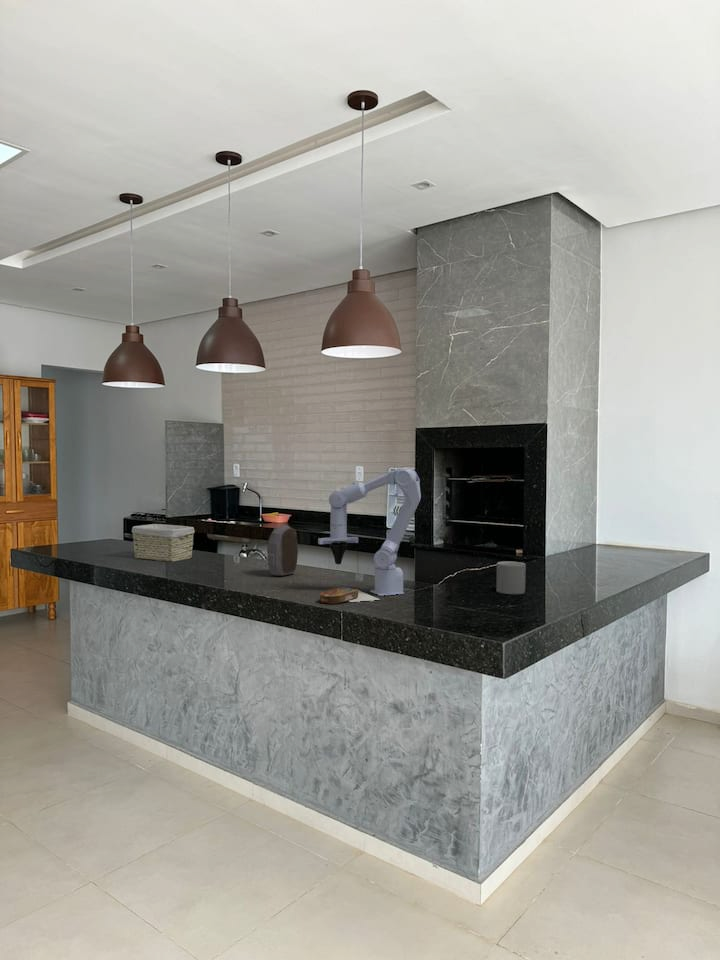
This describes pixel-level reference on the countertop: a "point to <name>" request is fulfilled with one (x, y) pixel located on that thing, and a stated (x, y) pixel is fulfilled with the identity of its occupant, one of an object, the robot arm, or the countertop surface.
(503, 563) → the coffee mug
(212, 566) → the countertop surface
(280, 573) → the soft grey pack
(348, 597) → the tin
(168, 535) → the storage basket
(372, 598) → the grey mat
